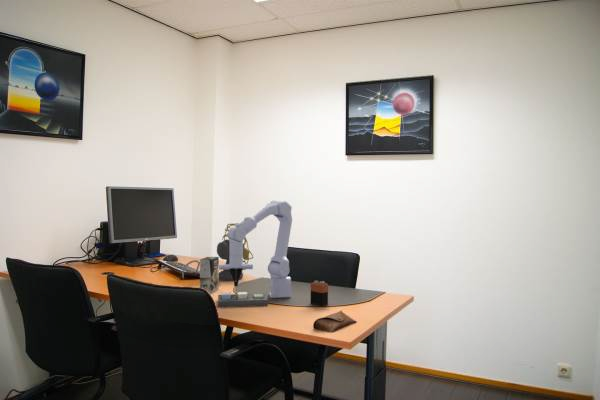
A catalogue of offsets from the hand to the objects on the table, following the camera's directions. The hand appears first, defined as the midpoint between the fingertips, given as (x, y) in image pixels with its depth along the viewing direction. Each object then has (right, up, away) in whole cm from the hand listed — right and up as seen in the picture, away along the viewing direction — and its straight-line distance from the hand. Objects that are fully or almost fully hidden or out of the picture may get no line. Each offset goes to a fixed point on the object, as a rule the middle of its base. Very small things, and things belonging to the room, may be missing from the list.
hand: (235, 285), depth 212 cm
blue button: (-4, -6, 0) cm, 8 cm away
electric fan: (-17, -6, +51) cm, 54 cm away
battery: (+36, -8, 0) cm, 37 cm away
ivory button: (+3, -6, +1) cm, 7 cm away
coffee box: (-16, -7, +23) cm, 29 cm away
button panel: (+3, -8, +1) cm, 8 cm away
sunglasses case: (+41, -10, -31) cm, 52 cm away
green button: (+10, -7, +2) cm, 12 cm away
